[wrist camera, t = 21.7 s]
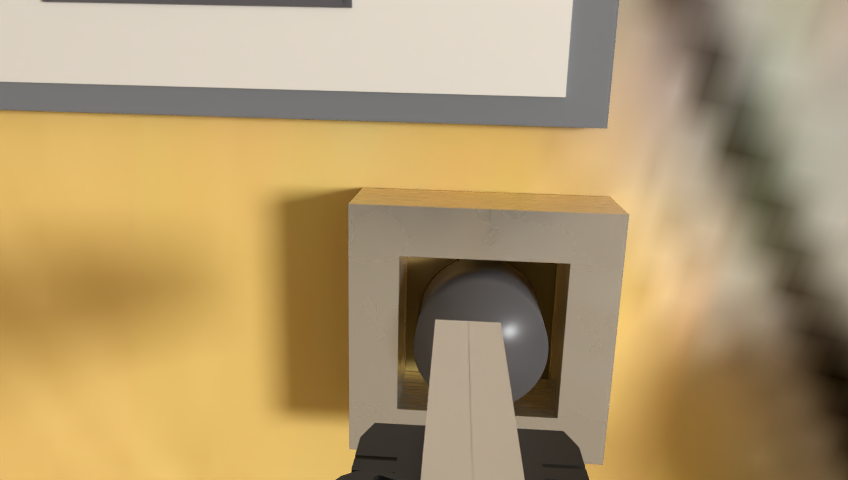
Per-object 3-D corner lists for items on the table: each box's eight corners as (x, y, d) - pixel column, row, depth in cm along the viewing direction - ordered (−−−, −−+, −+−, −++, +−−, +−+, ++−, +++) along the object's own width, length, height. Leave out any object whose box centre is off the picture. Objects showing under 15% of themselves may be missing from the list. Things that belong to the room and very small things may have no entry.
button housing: (362, 407, 27) (349, 449, 24) (363, 187, 25) (348, 203, 22) (588, 420, 26) (602, 464, 23) (610, 196, 24) (628, 214, 21)
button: (419, 364, 26) (412, 405, 22) (422, 254, 24) (415, 281, 21) (535, 370, 25) (543, 413, 22) (543, 259, 24) (553, 287, 21)
